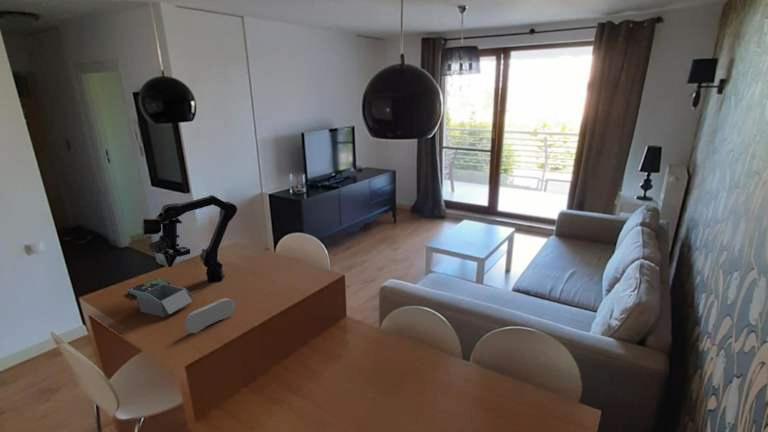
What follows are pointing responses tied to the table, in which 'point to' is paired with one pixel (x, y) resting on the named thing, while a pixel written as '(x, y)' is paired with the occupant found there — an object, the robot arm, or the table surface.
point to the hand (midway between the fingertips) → (169, 266)
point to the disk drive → (148, 286)
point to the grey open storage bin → (164, 300)
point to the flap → (143, 295)
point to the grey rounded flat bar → (208, 315)
